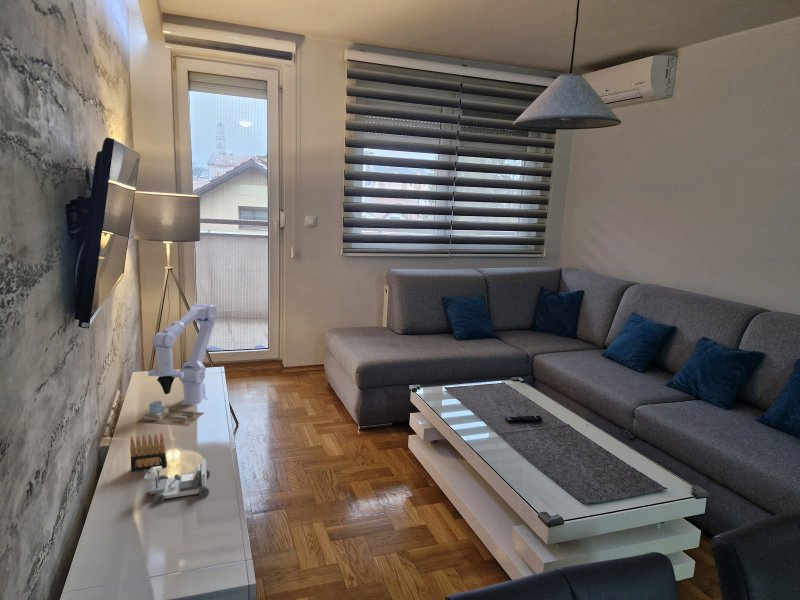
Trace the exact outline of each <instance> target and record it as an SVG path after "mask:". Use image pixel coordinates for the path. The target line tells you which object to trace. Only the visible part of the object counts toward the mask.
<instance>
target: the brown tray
mask: <svg viewBox="0 0 800 600" xmlns="http://www.w3.org/2000/svg"><path fill="white" fill-rule="evenodd" d="M162 409H163V411H162V412H160V413H159V414H150V410H148V411H146V412H145V413H143V416H142V417H141V418H140V419H138V420H137V421H135V423H143V424H156V425H157V424H158V425H169V426H170V425H171V426H181V427H182V426H183V427H189V426H190V425H191V424H193V422H195V421H197V419H199V418H200V417H201V416H202V415H203V414H205V412H198V411H195V410H191V409H190V410H188V409H187V410H186V409H182V410H171V409H170V408H169V407H168V408H167V407H162Z"/></svg>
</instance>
